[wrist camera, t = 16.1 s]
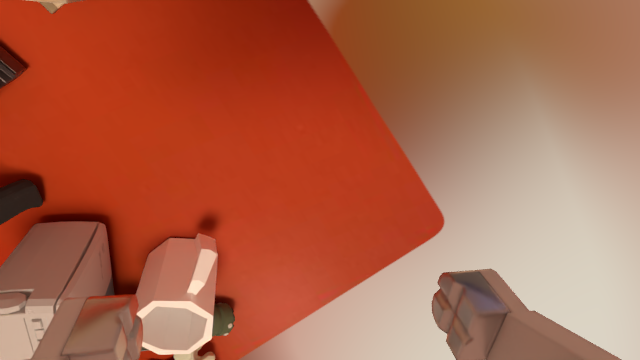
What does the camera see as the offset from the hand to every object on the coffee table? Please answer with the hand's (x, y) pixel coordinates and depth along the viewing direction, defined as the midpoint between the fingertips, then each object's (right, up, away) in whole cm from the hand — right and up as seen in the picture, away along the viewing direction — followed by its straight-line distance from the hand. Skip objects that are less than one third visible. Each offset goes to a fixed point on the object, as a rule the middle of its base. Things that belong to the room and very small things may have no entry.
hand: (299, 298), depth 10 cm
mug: (-15, -6, +36) cm, 40 cm away
